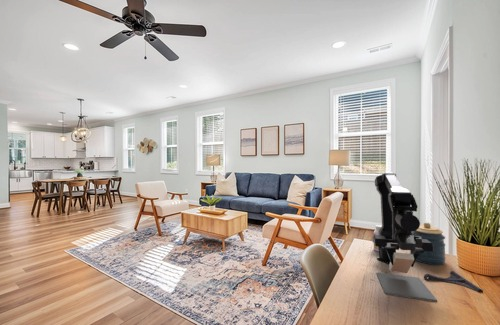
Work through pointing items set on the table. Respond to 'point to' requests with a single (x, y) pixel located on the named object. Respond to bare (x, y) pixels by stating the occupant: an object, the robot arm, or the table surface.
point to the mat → (405, 286)
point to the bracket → (454, 280)
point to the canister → (436, 239)
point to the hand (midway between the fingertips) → (401, 265)
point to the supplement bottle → (377, 234)
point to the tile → (401, 262)
